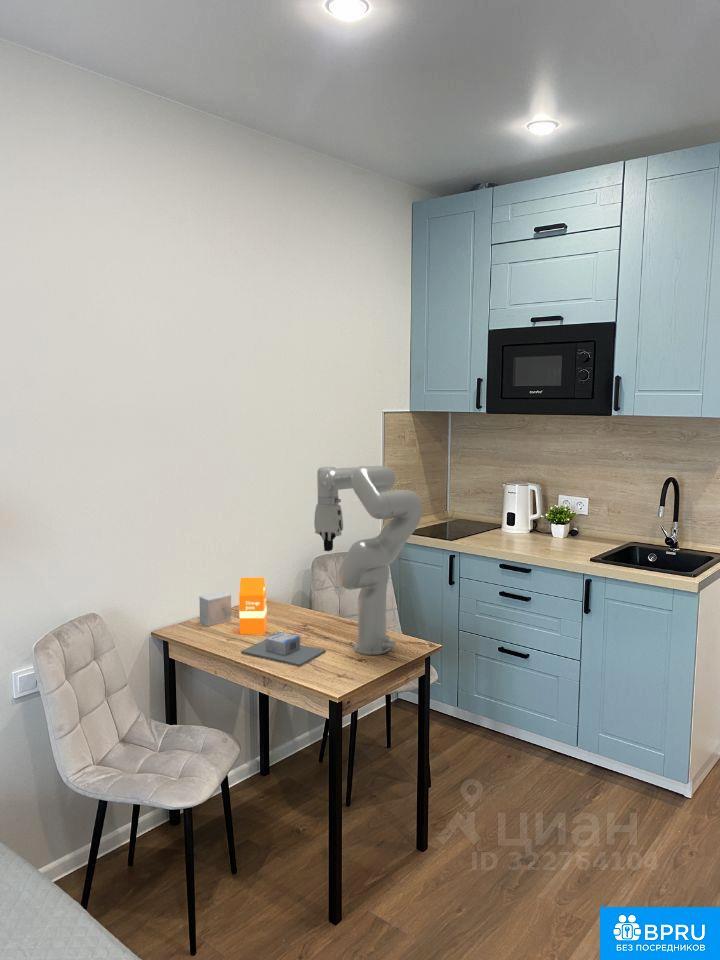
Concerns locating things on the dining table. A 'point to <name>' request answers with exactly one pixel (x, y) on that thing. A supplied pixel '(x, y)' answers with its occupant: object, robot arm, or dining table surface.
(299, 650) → the mat
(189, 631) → the dining table surface
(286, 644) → the medicine box
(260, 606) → the orange juice
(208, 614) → the skincare box
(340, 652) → the dining table surface
